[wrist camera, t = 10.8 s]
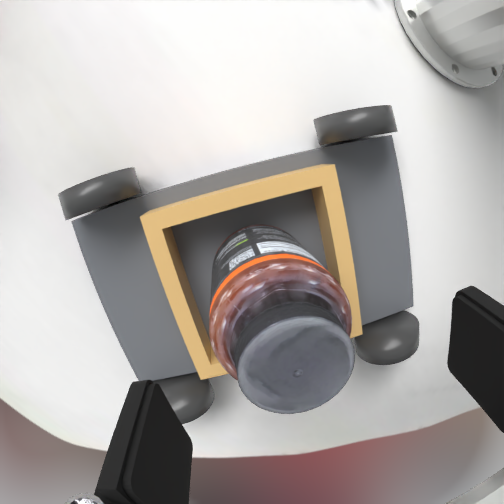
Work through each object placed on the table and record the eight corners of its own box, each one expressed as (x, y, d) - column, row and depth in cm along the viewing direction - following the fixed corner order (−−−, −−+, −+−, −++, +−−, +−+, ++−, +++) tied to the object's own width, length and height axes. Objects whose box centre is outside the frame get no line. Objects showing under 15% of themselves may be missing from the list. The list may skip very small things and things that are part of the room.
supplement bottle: (275, 323, 22) (317, 447, 11) (196, 287, 21) (175, 406, 10) (321, 248, 21) (412, 331, 10) (239, 204, 20) (262, 254, 9)
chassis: (375, 112, 20) (412, 101, 15) (405, 317, 25) (436, 345, 20) (73, 193, 20) (37, 202, 15) (152, 388, 24) (141, 429, 19)
